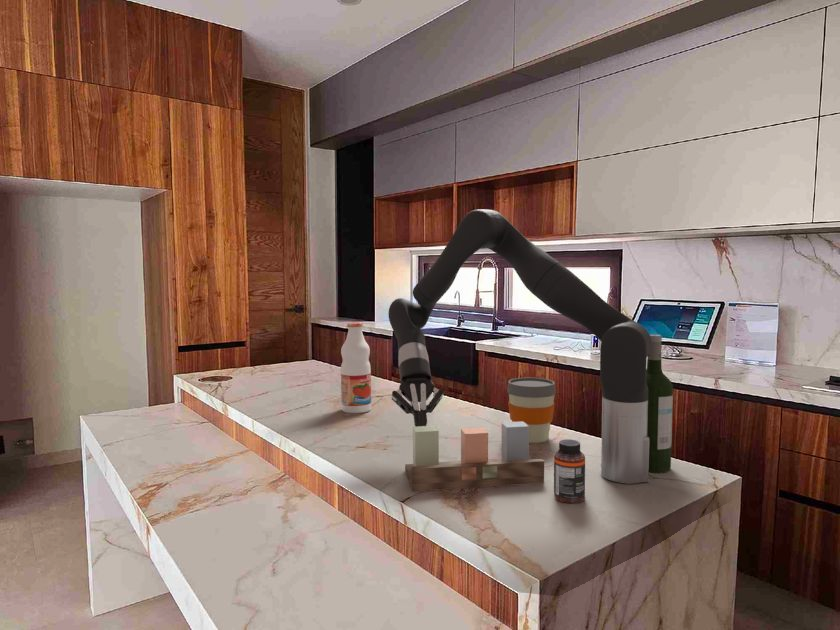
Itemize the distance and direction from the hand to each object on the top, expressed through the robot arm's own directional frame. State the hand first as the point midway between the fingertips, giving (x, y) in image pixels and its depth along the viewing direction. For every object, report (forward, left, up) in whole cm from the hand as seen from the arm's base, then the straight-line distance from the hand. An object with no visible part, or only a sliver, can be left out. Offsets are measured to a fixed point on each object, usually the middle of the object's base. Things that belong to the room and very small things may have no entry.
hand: (421, 427), depth 131 cm
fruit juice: (+31, -46, -9) cm, 57 cm away
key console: (-12, +5, -9) cm, 16 cm away
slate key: (-21, 0, -7) cm, 22 cm away
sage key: (-2, +7, -7) cm, 10 cm away
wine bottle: (-51, -8, -9) cm, 53 cm away
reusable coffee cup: (-24, -26, -9) cm, 37 cm away
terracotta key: (-13, +6, -7) cm, 16 cm away
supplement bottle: (-32, +13, -9) cm, 36 cm away
